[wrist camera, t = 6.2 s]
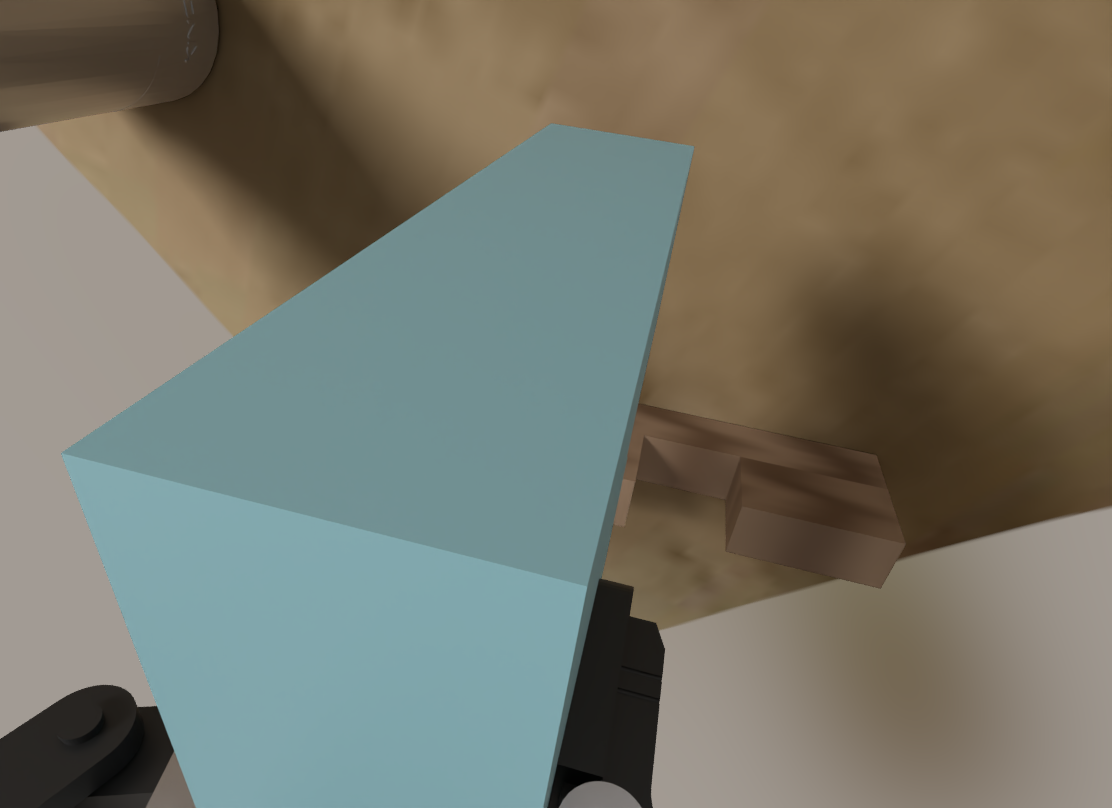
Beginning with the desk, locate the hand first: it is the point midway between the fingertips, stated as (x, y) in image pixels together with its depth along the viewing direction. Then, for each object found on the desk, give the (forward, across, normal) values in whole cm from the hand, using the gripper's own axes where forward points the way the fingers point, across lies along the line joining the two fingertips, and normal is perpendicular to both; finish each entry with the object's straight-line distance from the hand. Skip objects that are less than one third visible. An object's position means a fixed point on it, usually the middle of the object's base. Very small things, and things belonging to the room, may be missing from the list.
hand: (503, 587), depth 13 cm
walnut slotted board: (+23, -5, +11) cm, 26 cm away
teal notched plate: (+8, 0, 0) cm, 8 cm away
